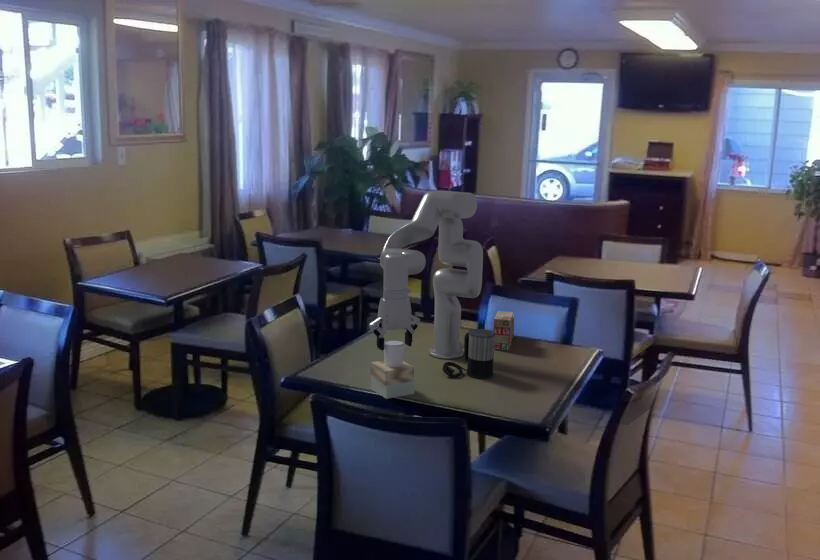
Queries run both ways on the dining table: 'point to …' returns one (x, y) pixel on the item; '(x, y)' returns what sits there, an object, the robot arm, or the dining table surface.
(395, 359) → the white cylinder
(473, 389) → the dining table surface
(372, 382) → the tower bottom
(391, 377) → the tower top
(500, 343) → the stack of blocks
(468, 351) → the milk frother
